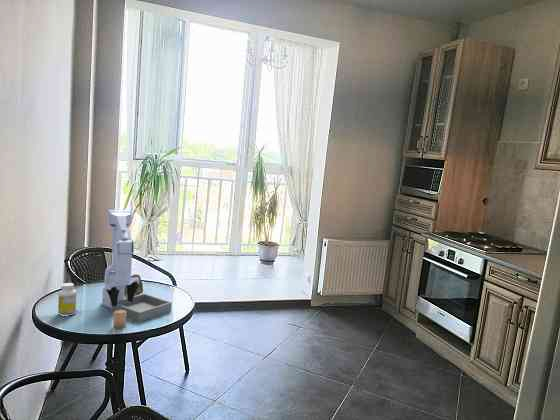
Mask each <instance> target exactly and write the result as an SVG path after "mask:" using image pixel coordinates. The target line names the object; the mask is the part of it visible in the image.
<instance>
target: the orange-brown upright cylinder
mask: <svg viewBox="0 0 560 420" xmlns="http://www.w3.org/2000/svg"><path fill="white" fill-rule="evenodd" d="M126 324H127V317H126V311H125V310H116V311H114V312H113V325H112V326H113V328H114V329H117V330H118V329H120V330H121V329H124V328H125V327H126Z"/></svg>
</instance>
